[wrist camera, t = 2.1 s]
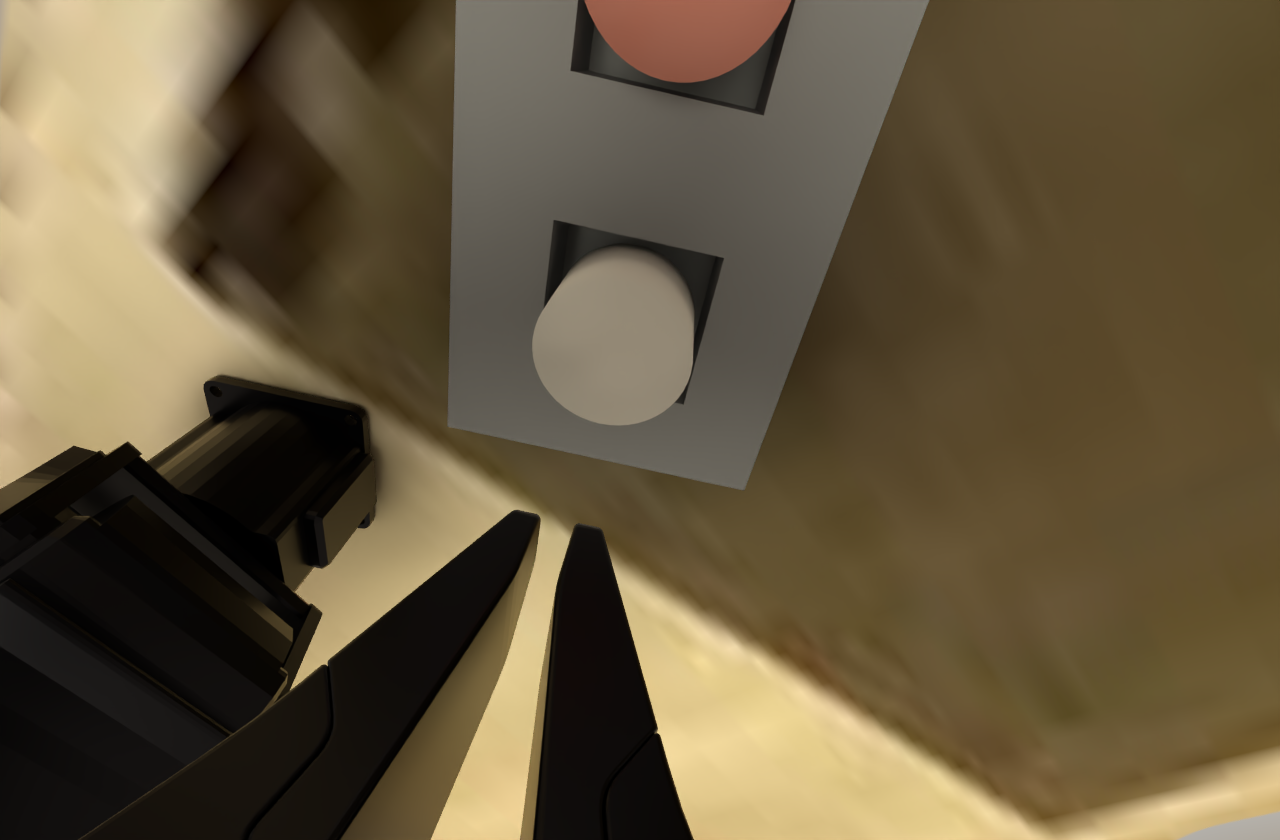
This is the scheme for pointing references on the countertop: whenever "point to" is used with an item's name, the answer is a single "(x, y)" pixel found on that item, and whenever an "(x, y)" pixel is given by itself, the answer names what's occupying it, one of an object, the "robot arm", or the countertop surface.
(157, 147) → the countertop surface
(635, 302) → the button pale
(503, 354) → the button panel
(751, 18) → the button red middle
